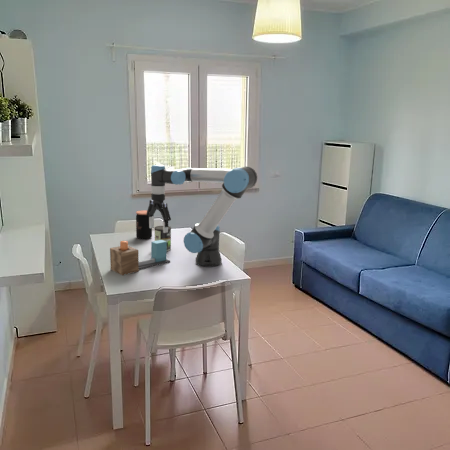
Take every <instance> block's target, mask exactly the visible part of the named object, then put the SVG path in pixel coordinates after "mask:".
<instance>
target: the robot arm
mask: <svg viewBox="0 0 450 450" xmlns="http://www.w3.org/2000/svg"><path fill="white" fill-rule="evenodd" d="M150 178H151V180H150V182H151V184H150V190H151V198H150V200H149V204H148V207H147V215H148V216H149V228H152V229H153V228H155V217H154V215H155V213H156V212H157V211H159V213H160V215H161V217H162V219H163V221H162V223H163V224H162V226H163V233H167V232H168V226H169V222H170V221H171V220H172V218H171V215H170V211H169V208H168V203H167V202H164V201H165V200H166V193H165V192H166V184H171V185H175V186H176V185H183V184H184V183H185V182H189V183H190V182H192V183H196V182H197V183H215V184H219V183H220V184H221V189H222V190H221V191H220V193H219V194H218V195H217V197H216V198H215V201H214V202H212V205H211V206H210V207H209V209H208V210H207V212H206V213H205V215H204V217H203V218H202V219H201V220H200V222H199V223H195V225H194V226H193V227H192V229H191V231H188V232H187V233H186V234H185V235H184V237H183V245H184V247H185V249H186V250H187V251H188V252H190V253H192V254H196V257H195V264H196V265H198V266H201V267H218V266H220V265H222V261H223V260H222V256H221V253H220V235H221V234H220V229H221V228H220V223H221V222H222V220H223V219H224V217H225V216H226V214H227V213H228V212H229V210H230V209H231V207H232V205H233V204H234V203H235V201H236V200H239V199H241V198H242V197H243V195H244V194H245V193H246V191H247V190H249V189H251V188H252V189H253V187H254V186H255V185H256V184H257V182H258V173H257V172H256V170H255V169H254V168H252V167H250V166H242V167H241V166H240V167H234V168H232V169H231V168H199V167H198V168H197V167H193V168H192V167H184V168H177V169H166V166H165V165H164V164H163V165H162V164H153V165H151V170H150ZM149 212H150V213H149Z"/></svg>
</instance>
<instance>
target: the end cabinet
mask: <svg viewBox="0 0 450 450" xmlns="http://www.w3.org/2000/svg"><path fill="white" fill-rule="evenodd" d="M109 253H110V254H109V256H110V257H109V259H110V270H111V271H113V272H114V273H117V274H119V275H121V276H125V275H124V274H126V275H129V274H128V273H130V274H134V273H137V272H138V273H139V271H140V270H139V261H140V260H139V249H137V248H134V247H132V246H130V245H128V250H125V251H121V250H120V246H119V245H118V246H115V247H110V248H109ZM133 272H134V273H133Z"/></svg>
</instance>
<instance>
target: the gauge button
mask: <svg viewBox="0 0 450 450" xmlns="http://www.w3.org/2000/svg"><path fill="white" fill-rule="evenodd" d="M119 244H120V250H121V251H125V250H128V246H129V241H128V240H120V241H119Z"/></svg>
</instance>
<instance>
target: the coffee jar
mask: <svg viewBox="0 0 450 450" xmlns="http://www.w3.org/2000/svg"><path fill="white" fill-rule="evenodd" d="M147 210H148V209H147ZM147 210H145V209H143V210H137V211H136V212H135V220H136V221H135V222H136V223H135V227H136V228H135V229H136V230H135V231H136V232H135V233H136V235H135V236H136V238H137V239H139V240H150V239H151V238H152V237H153V228H149V216H148V215H147ZM149 213H150V212H149Z"/></svg>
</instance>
